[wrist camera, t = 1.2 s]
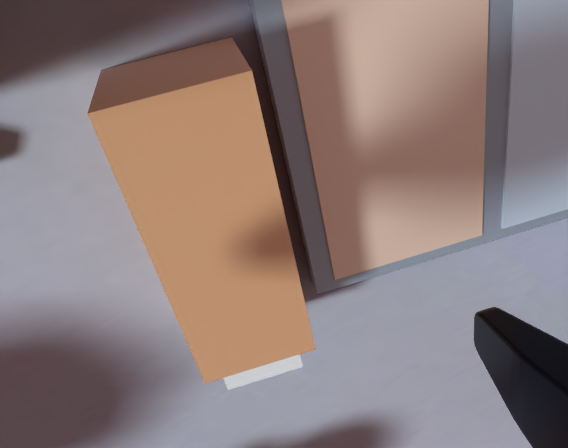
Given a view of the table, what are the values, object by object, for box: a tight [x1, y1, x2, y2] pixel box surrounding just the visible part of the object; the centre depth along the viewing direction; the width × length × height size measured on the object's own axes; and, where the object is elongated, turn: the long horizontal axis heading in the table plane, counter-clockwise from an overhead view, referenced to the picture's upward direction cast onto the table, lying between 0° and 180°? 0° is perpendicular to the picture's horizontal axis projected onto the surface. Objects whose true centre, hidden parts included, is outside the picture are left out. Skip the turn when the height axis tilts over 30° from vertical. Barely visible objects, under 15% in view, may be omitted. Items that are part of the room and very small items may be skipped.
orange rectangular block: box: [88, 37, 315, 390], centre depth 15 cm, size 4×10×4 cm, turn 10°
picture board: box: [249, 0, 568, 294], centre depth 16 cm, size 11×11×1 cm
